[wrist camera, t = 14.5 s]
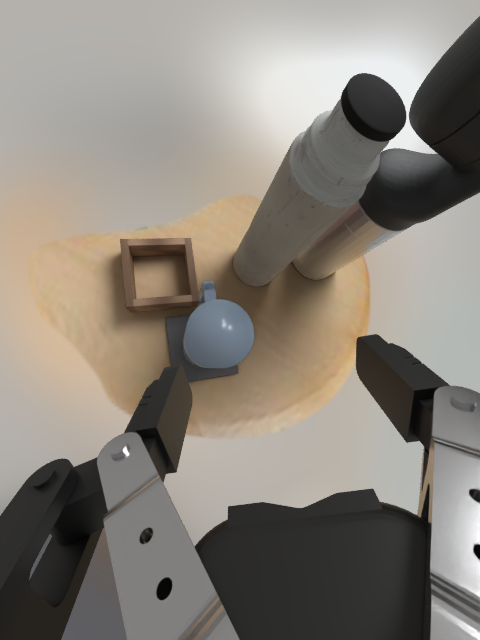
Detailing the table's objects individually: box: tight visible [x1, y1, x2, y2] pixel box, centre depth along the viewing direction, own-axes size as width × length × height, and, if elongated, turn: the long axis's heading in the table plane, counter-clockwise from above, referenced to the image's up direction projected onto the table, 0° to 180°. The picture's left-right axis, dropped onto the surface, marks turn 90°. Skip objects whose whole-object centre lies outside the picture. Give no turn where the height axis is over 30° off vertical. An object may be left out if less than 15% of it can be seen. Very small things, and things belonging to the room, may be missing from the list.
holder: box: [120, 238, 199, 312], centre depth 37 cm, size 10×10×4 cm
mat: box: [166, 315, 238, 382], centre depth 38 cm, size 10×10×1 cm
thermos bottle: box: [233, 73, 406, 286], centre depth 30 cm, size 8×8×28 cm
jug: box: [182, 281, 254, 368], centre depth 30 cm, size 6×9×16 cm
